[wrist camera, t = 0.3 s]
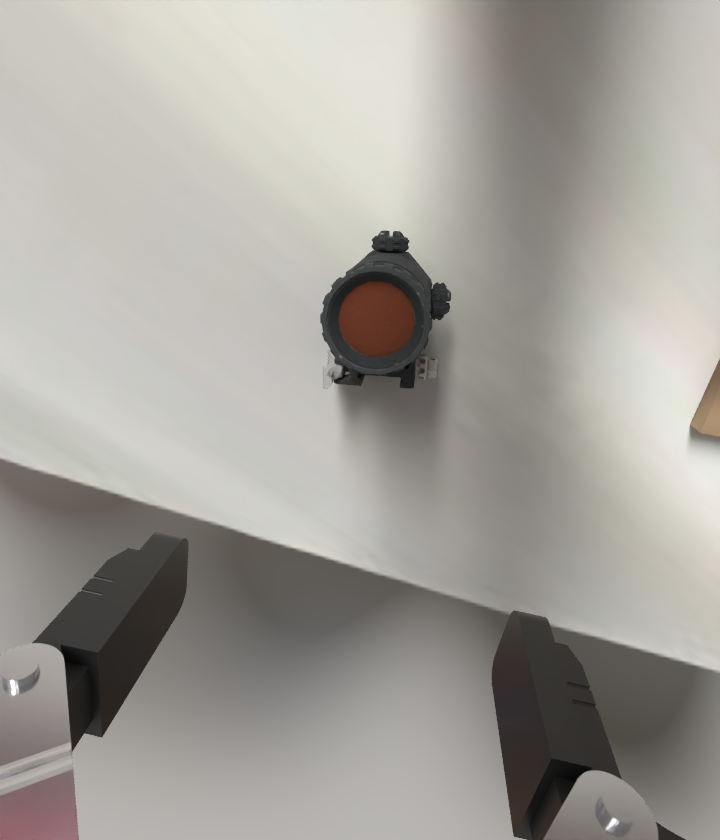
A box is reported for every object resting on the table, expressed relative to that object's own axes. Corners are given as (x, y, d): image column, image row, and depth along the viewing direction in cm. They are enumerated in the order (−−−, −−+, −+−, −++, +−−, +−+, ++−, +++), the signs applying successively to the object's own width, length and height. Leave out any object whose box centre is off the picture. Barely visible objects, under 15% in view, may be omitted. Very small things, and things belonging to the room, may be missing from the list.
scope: (290, 431, 27) (289, 231, 24) (333, 362, 40) (336, 226, 36) (445, 445, 27) (468, 240, 23) (438, 370, 39) (452, 231, 36)
